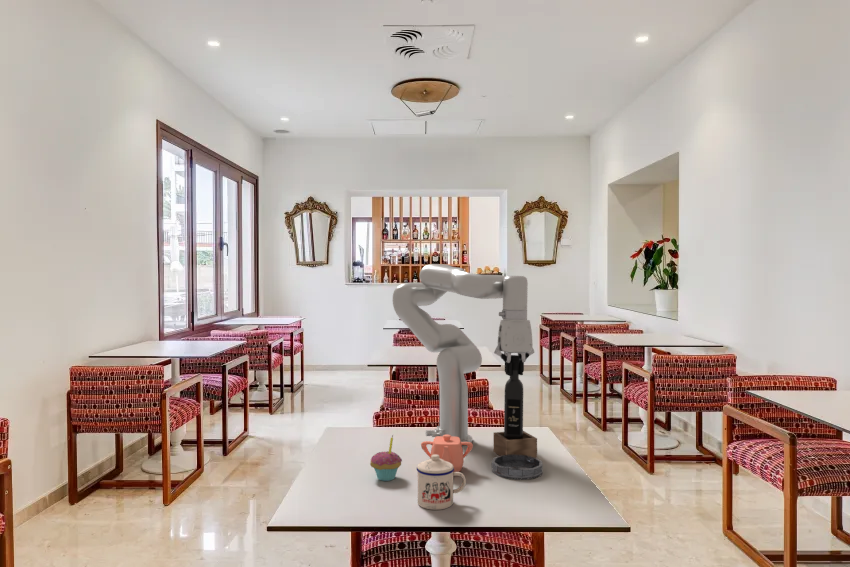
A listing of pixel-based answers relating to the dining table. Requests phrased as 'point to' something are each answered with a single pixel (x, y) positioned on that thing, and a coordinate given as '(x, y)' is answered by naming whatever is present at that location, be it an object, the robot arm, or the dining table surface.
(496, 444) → the open square wooden box
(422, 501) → the teacup with lid
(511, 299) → the robot arm
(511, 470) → the serving bowl
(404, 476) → the dining table surface
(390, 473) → the cupcake
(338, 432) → the dining table surface
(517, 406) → the wine bottle
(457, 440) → the teapot
